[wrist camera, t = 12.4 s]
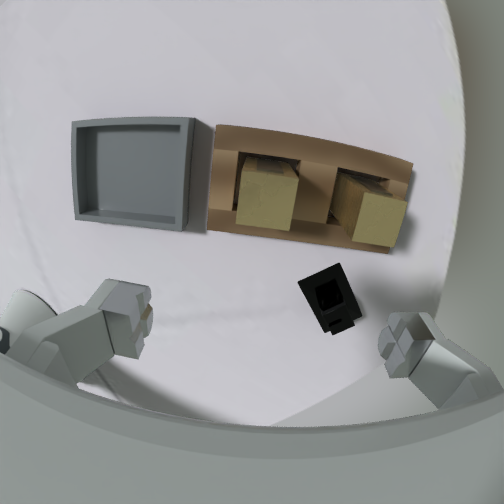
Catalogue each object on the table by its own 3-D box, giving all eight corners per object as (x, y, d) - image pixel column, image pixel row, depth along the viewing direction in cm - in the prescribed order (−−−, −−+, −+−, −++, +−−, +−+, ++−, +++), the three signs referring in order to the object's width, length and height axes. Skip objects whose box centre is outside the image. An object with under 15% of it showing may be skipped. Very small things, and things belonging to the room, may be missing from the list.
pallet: (379, 243, 30) (387, 253, 27) (211, 220, 29) (206, 229, 27) (402, 159, 25) (413, 163, 23) (220, 124, 24) (216, 124, 22)
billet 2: (363, 215, 28) (393, 247, 21) (329, 209, 28) (351, 240, 21) (372, 178, 26) (408, 200, 19) (337, 170, 26) (365, 190, 19)
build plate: (284, 271, 32) (287, 294, 28) (341, 244, 31) (353, 263, 26) (322, 338, 37) (328, 362, 33) (370, 317, 35) (380, 339, 31)
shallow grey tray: (187, 222, 29) (181, 231, 27) (86, 212, 29) (75, 219, 26) (195, 117, 24) (188, 117, 22) (84, 120, 24) (71, 121, 22)
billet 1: (281, 201, 28) (289, 230, 21) (242, 195, 28) (235, 223, 21) (288, 161, 26) (299, 176, 19) (247, 155, 26) (242, 168, 19)
